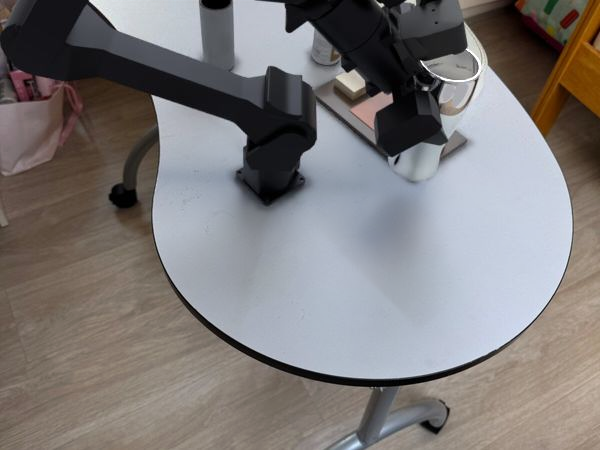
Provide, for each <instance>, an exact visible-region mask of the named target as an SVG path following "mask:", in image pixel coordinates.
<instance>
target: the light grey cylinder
mask: <svg viewBox="0 0 600 450" xmlns="http://www.w3.org/2000/svg"><path fill="white" fill-rule="evenodd" d="M198 8H199V9H198V10H199V22H200V33H201V35H200V36H201V47H202V62H204V63H207V64H210V65H213V66H215V67H218V68H221V69H224V70H226V71H229V72H230V71H231V70H232V69H234V66H235V64H236V63H235V61H236V59H235V58H236V57H235V56H236V55H235V53H236V52H235V19H234V18H235V17H234V14H235V13H234V0H198Z"/></svg>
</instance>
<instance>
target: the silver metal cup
mask: <svg viewBox="0 0 600 450" xmlns="http://www.w3.org/2000/svg"><path fill="white" fill-rule="evenodd" d="M419 61H420V60H419ZM420 62H421V64H422V66H423V71H421V72H420V73H418V74H416V75H415V80H416V86H417V90H425V91H429V93H430V94H431V95H432V96H433V97H434V96H435V95H437V97H438V102H439V107H440V112H441V113H440V116H441V121H442V126H443V127H442V129H443V130H444V132H445V134H446V136H447V138H448V139H449V138H450V136H451V135H452V134H453V132H454V131H455V130H457V128H458V126H459V125H460V123H461V122H462V120H463V119H464V117H465V115H466V113H467V111H468V109H469V107H470V105H471V103H472V100H473V97H474V96H475V95H474V94H475V92H476V88H477V86H478V83H479V79H480V77H481V74H482V73H483V65H482V62H481V60H480V58H479V57H478V56H477V55H476V54H475V53H474V52H473V51H471V50H470V49H468V48H467V49H466V50H465V51H464V52H462V53H460V54H457V55H453V54H451V55H447V56H444V57H440V58H437V59H433V60H429V61H420ZM444 145H445V144H443V145H441V146H438V145H433V144H428V143H423V142H421V143H419V144H417V145H415V146H413V147H411V148H409V149H408V150H406V151H404V152H402V153H400V154H398V155H396V156H394V157H392V158H391V157H388V159H387V161H388V166H389V167H390V169H391V171H392V172H394V174H395V175H397V176H398V177H400V178H402V179H404V180H407V181H409V182H419V183H420V182H425V181H429V180H430V179H432V178H433V177H434V176H435V175H436V173H437V171H438V169H439V163H440V161H439V158H440V154H441V151H442V149H443V147H444Z"/></svg>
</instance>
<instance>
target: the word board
mask: <svg viewBox="0 0 600 450" xmlns="http://www.w3.org/2000/svg"><path fill="white" fill-rule="evenodd" d="M313 91H314V93H315V95H316V101H317V102H319V103H320V104H321V105H323V106H324V107H325V108H326V109H327V110H329V111H330V112H331V113H332V114H334V116H336V117H337V118H338V119H339V120H341V121H342V122H343V123H345V125H347V126H348V127H349V128H350V129H351V130H353V131H354V132H355V133H356V134H358V135H359V136H360V137H361V138H362V139H363V140H365V141H366V143H368V144H369V145H371V146H372V147H373V148H374V149H375V150H377V151H378V152H379V153H380V154H381V155H383V156H384V157H385V158H386V159H387V160H388V156H386V155H385V154H384V153H383V152H382V151H381V150H380V149H379V148H378V147H377V146H376V140H375V130H374V118H375V114H376V112H377V111H379V110H381V109H382V108H384V107H386V106H387V105H389V104H391V103H393V98H392V93H391V94H389V95H387V96H386V95H385V94H384V93H383V92H381V93H379V94H377V95H376V96H374V97H372V98H371V97H370V96H369V95H368V94H367V93H366V89H365V80H364V79H363V78H362V77H361V76H360V75H359V74H358V73H357V72H356V71H355V70H352V71H350V72H349V73H347V72H346V71H344V72H342V73H340V74H338V75H336V76H334V78H333V79H331V80H330V81H327V82H326V83H324V84H322V85H320V86H317V87H316V88H313ZM467 143H468V138H467V137H466V136H464V135H463V134H461V133H460V132H459V131H457V129H455V131H454V132H453V134H452V135H451V136H450V138H449V139H448V142H447V143H445V145H444V147H443V149H442V151H441V154H440V158H439V162H440V161H442V160H443V159H444V158H446V157H447V156H449V155H451V154H452V153H453V152H455V151H456V150H458V149H460V148H461V147H463V146H464V145H465V144H467Z"/></svg>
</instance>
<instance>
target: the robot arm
mask: <svg viewBox="0 0 600 450" xmlns="http://www.w3.org/2000/svg"><path fill="white" fill-rule="evenodd" d="M255 1H257V2H267V3H277V4H284V9H285V16H284V17H285V18H284V19H285V22H284V23H285V24H284V31H285V33H287V34H292V33H294V32H295V31H296V30H298V29H299V28H301V27H302V26H303V25H304V24H306V23H307V22H308V23H309V24H310V25H311V27H313V29H314V28H315V29H316V30H317V31H318V32H319V33H320V34H321V35H322V36H323V38H324V39H325V40H326V41H327V42H328V43H329V44H330V45H331V46H332V47H333V48H334V49H335V50H336V51H337V52H338V53H339V54H340V55H341V56H340V66H341V67H340V68H342V70H343V71H344V72H347V73H349V72H350V71H352V70H355V71H356V72H357V73H358V74H359V75H360V76H361V77H362V78H363V79H364V80H365V89H366V93H367V94H368V95H369V96H370V97H371V98H372V97H374V96H376V95H377V94H379V93H381V92H383V93H384V94H385V95H386V96H387V95H389V94H391V93H392V98H393V103H391V104H389V105H387V106H386V107H384V108H382V109H381V110H379V111H377V112H376V114H375V118H374V130H375V140H376V146H377V147H378V148H379V149H380V150H381V151H382V152H383V153H384V154H385V155H386V156H388V157H391V158H392V157H394V156H396V155H398V154H400V153H402V152H404V151H406V150H408V149H409V148H411V147H413V146H415V145H417V144H419V143H421V142H423V143H428V144H433V145H438V146H441V145H443V144H445V143H447V142H448V138H447V136H446V134H445V132H444V130H443V129H442V127H443V126H442V121H441V116H440V113H441V112H440V107H439V102H438V97H437V95H435V96H434V97H433V96H432V95H431V94H430V93H429V91H425V90H417V86H416V80H415V75H416V74H418V73H420V72H421V71H423V66H422V64H421V62H420V61H429V60H433V59H437V58H440V57H444V56H447V55H451V54H453V55H457V54H460V53H462V52H464V51H465V50H466V49H468V47H469V44H468V39H467V32H466V25H465V21H464V15H463V11H462V8H461V5H460V1H459V0H415V2H414V3H412V2H406V1H407V0H255ZM89 2H90V0H16V2H15V4H14V6H13V8H12V10H11V12H10V13H9V16H8V17H7V20H6V22H5V23H4V26H3V27H2V30H1V32H0V49H1V50H2V53H3V54H4V56H5V57H6V58H7V59H8V60H9V61H10V62H11V66H13V67H14V68H15V69H17V70H18V71H20V72H23V73H25V74H27V75H30V76H34V77H40V78H45V79H51V80H53V81H54V80H55V81H60V82H65V83H66V82H73V81H81V80H82V81H83V80H88V79H102V80H105V81H108V82H112V83H115V84H118V85H121V86H124V87H127V88H128V89H129V88H130V89H132V90H135V91H138V92H141V93H144V94H147V95H150V96H154V97H157V98H159V99H163V100H164V101H165V100H166V101H168V102H171V103H175V104H178V105H181V106H183V107H187V108H190V109H192V110H195V111H199V112H201V113H205V114H207V115H211V116H214V117H217V118H220V119H222V120H225V121H229V122H231V123H233V124H234V125H236V127H238V129H240V130H241V131H242V132H243V133H244V135H246V142H245V145H243V147H242V167H240V168H238V169H237V170H235V177H236V178H237V179H238V180H239V181H240V182H241V183H242V185H244V186H245V187H246V188H247V189H248V191H250V192H251V193H252V194H253V195H254V196H255V197H256V198H257V199H258V200H259V202H261V203H262V204H263V205H264V206H270V205H272V204H274V203H275V202H276V201H278V200H280V199H281V198H283V197H285V196H287V195H288V194H290V193H291V192H293V191H295V190H297V189H298V188H300V187H301V186H303V185H304V184H305V183H306V177H305V176H304V175H302V173H300V171H299V170H300V167H301V158H302V156H303V155H304V153H306V152H308V151H310V150H311V149H312V148H313V147H314V146H315V145H316V142H317V141H318V119H317V118H318V117H317V99H316V95H315V93H314V91H313V90H314V88H313V86H311V84H309V83H308V82H306V81H304V80H303V75H302V74H293V73H289V72H286V70H285V71H284V70H283V69H281V68H279V67H277V66H274V65H268V66H267V68H266V71H265V74H263V75H257V76H251V77H250V76H249V77H248V76H244V75H240V74H238V73H236V72H235V73H234V72H232V71H230V70H229V71H226V70H224V69H221V68H218V67H215V66H213V65H210V64H207V63H204V61H203V60H202V61H201V60H200V59H199V60H198V59H196V58H194V57H191V56H189V55H185V54H183V53H180V52H177V51H174V50H171V49H169V48H166V47H163V46H161V45H158V44H155V43H152V42H149V41H147V40H144V39H142V38H139V37H136V36H133V35H130V34H127V33H125V32H122V31H119V30H116V29H114V28H113V27H112V26H110V25H109V24H108V23H107V22H106V21H105V20H104V19H103V18H102V17H101V16H99V14H97V12H95V11H94V9H93V8H92V7H91V6H90V5H88V3H89ZM379 4H380V5H382V6H380V5H379ZM419 60H420V61H419Z"/></svg>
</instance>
